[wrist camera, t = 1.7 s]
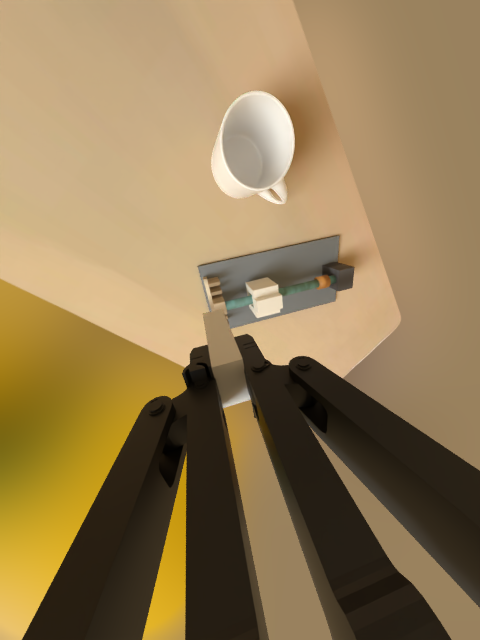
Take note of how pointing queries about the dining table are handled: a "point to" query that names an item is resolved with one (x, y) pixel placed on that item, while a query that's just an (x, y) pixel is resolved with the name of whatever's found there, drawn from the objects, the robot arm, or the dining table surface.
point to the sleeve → (264, 297)
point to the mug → (254, 148)
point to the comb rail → (331, 277)
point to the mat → (275, 276)
